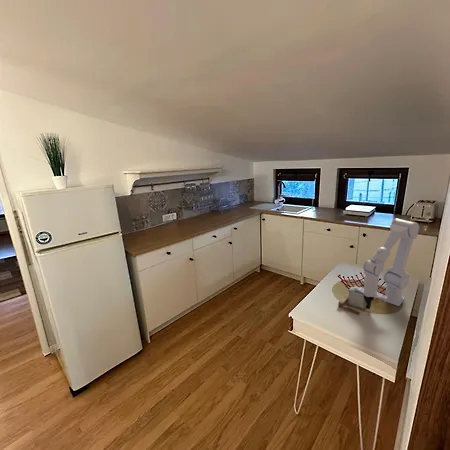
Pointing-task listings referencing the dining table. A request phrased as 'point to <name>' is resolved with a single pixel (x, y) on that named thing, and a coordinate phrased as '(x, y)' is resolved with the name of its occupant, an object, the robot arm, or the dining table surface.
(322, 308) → the dining table surface
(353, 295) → the medicine box
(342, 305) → the end stop
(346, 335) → the dining table surface
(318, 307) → the dining table surface
